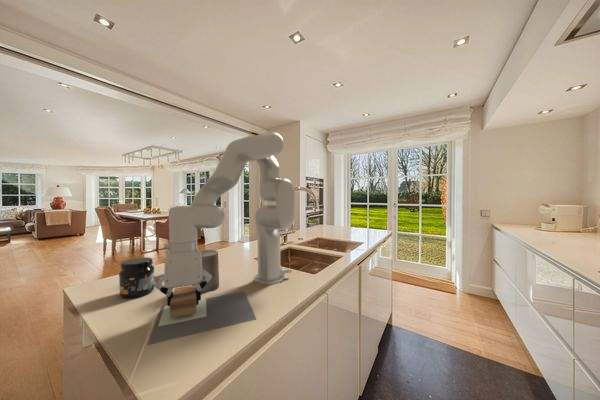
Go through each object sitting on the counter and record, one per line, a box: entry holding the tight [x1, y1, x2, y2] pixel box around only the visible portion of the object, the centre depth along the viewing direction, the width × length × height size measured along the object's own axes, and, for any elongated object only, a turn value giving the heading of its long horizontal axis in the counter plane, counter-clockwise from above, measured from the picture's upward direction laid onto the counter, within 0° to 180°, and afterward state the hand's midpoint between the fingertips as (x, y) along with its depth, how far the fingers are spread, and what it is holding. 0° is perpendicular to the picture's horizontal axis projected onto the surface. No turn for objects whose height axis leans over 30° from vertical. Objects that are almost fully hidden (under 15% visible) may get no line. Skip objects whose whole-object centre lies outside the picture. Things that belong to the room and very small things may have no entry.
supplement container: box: [118, 256, 155, 299], centre depth 81 cm, size 10×10×12 cm
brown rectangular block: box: [170, 285, 197, 318], centre depth 67 cm, size 11×6×4 cm, turn 24°
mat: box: [146, 291, 257, 346], centre depth 66 cm, size 26×20×1 cm
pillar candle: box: [191, 249, 220, 294], centre depth 85 cm, size 10×10×15 cm
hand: (184, 304), depth 67 cm, fingers closed on brown rectangular block, 6 cm apart
